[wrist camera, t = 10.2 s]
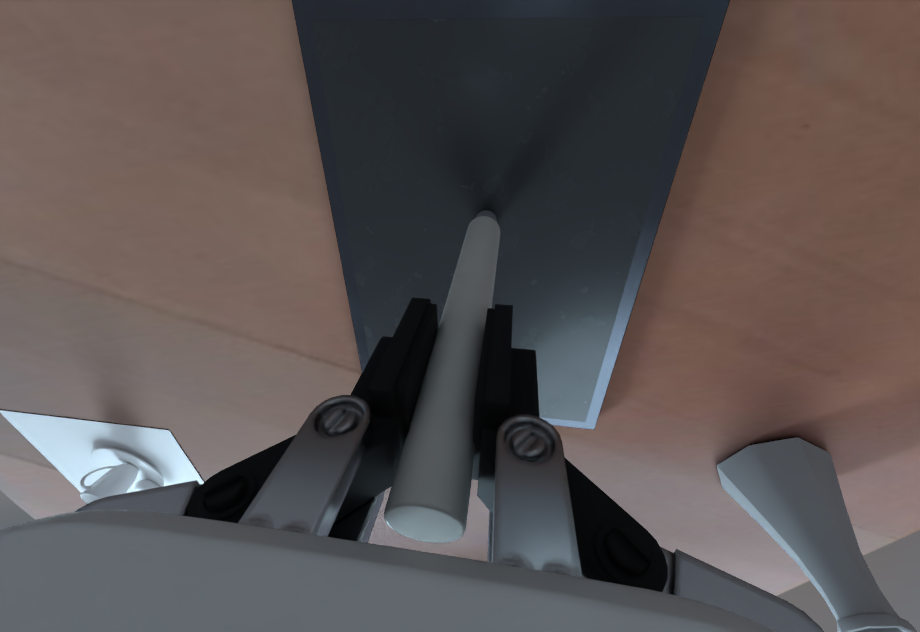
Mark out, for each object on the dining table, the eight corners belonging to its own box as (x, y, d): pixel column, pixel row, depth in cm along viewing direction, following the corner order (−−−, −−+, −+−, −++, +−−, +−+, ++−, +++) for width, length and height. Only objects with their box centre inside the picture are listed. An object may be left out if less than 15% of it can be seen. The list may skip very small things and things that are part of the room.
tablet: (301, -1, 16) (288, -5, 15) (722, -8, 14) (735, -13, 13) (371, 396, 29) (367, 405, 28) (592, 420, 27) (594, 431, 26)
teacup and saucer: (182, 495, 43) (153, 531, 39) (122, 487, 44) (89, 521, 40) (146, 448, 38) (110, 484, 35) (80, 439, 39) (38, 474, 36)
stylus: (471, 204, 18) (377, 499, 7) (502, 205, 18) (465, 511, 6) (470, 233, 19) (388, 537, 8) (500, 235, 19) (465, 549, 7)
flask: (742, 505, 30) (827, 669, 22) (696, 460, 28) (771, 622, 20) (847, 475, 27) (995, 656, 18) (804, 421, 24) (949, 598, 16)
